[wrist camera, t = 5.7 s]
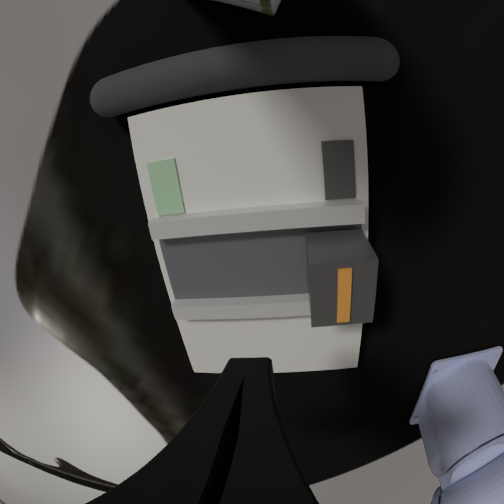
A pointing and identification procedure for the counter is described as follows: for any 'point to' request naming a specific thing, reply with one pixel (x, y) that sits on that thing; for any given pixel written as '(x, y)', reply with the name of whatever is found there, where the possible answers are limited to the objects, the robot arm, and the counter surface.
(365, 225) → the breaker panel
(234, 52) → the dark grey rounded bar
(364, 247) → the toggle
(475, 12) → the counter surface
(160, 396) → the counter surface
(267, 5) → the syrup box
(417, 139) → the counter surface
